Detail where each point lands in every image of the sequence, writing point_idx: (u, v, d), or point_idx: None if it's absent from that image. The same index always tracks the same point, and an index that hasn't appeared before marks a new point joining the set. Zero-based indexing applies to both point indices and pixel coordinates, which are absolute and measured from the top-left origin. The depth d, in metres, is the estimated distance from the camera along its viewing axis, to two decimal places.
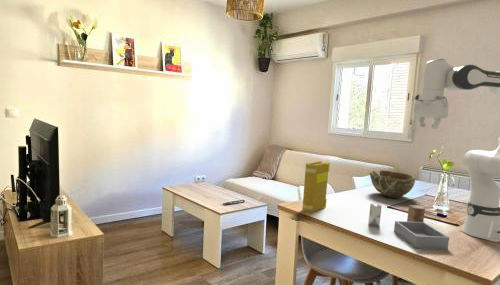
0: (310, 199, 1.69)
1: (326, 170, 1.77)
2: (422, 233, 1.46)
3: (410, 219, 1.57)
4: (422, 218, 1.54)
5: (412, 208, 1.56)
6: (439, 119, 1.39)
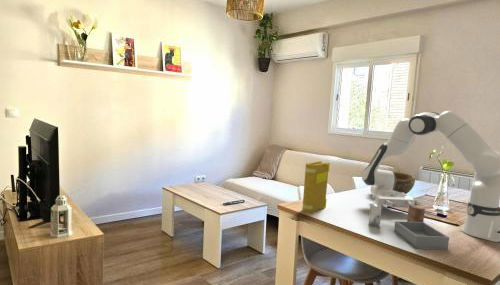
0: (310, 199, 1.69)
1: (326, 170, 1.77)
2: (422, 233, 1.46)
3: (410, 219, 1.57)
4: (422, 218, 1.54)
5: (412, 208, 1.56)
6: (386, 201, 1.72)
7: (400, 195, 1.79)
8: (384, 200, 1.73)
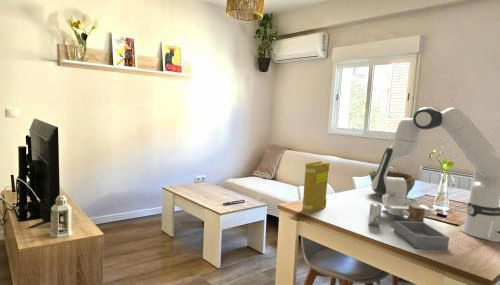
0: (310, 199, 1.69)
1: (326, 170, 1.77)
2: (422, 233, 1.46)
3: (410, 219, 1.57)
4: (422, 218, 1.54)
5: (412, 208, 1.56)
6: (402, 211, 1.60)
7: (414, 204, 1.67)
8: (397, 210, 1.60)
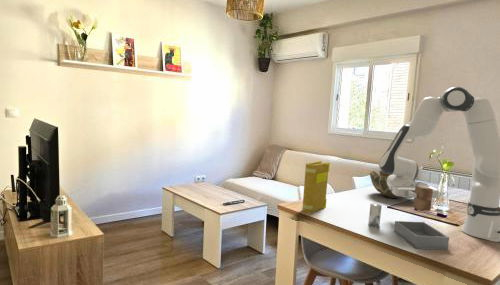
0: (310, 199, 1.69)
1: (326, 170, 1.77)
2: (422, 233, 1.46)
3: (417, 200, 1.46)
4: (430, 199, 1.44)
5: (419, 188, 1.45)
6: (408, 192, 1.49)
7: None
8: (403, 191, 1.49)
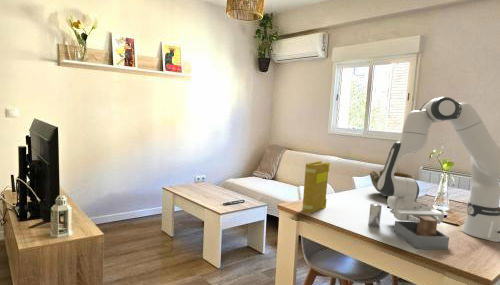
0: (310, 199, 1.69)
1: (326, 170, 1.77)
2: None
3: (420, 232, 1.36)
4: (434, 231, 1.34)
5: (422, 220, 1.35)
6: (408, 216, 1.39)
7: (425, 208, 1.46)
8: (406, 215, 1.39)
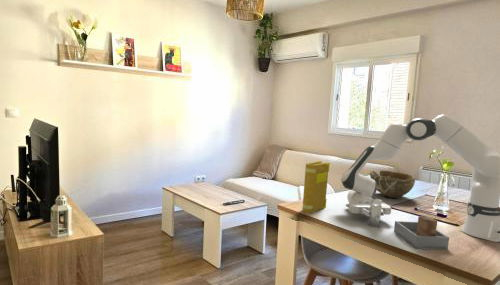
0: (310, 199, 1.69)
1: (326, 170, 1.77)
2: None
3: (420, 232, 1.36)
4: (434, 231, 1.34)
5: (422, 220, 1.35)
6: (362, 209, 1.58)
7: (376, 202, 1.65)
8: (357, 208, 1.59)
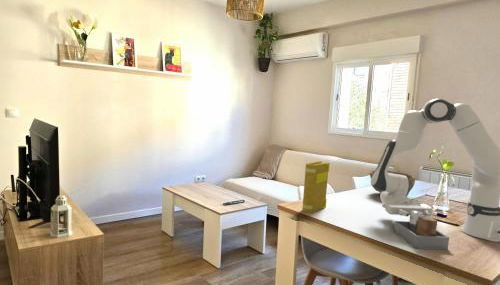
0: (310, 199, 1.69)
1: (326, 170, 1.77)
2: None
3: (420, 232, 1.36)
4: (434, 231, 1.34)
5: (422, 220, 1.35)
6: (398, 210, 1.47)
7: (415, 203, 1.54)
8: (396, 209, 1.47)
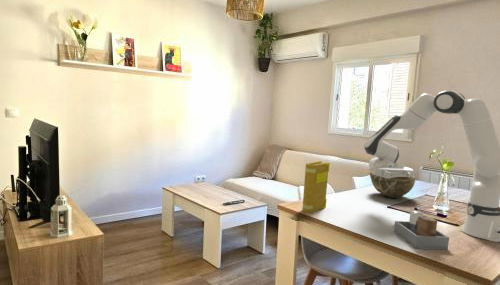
0: (310, 199, 1.69)
1: (326, 170, 1.77)
2: None
3: (420, 232, 1.36)
4: (434, 231, 1.34)
5: (422, 220, 1.35)
6: (383, 171, 1.63)
7: (399, 166, 1.70)
8: (381, 171, 1.64)
